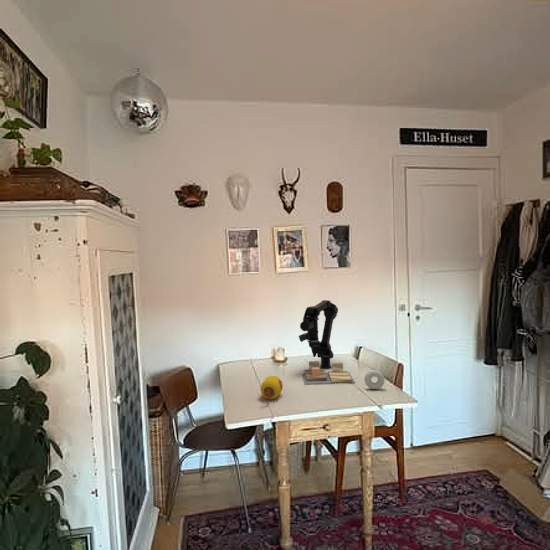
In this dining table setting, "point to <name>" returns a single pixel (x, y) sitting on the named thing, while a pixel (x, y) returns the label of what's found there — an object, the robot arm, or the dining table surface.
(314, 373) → the block
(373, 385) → the donut
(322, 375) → the darker brown strip
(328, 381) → the lane mat
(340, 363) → the tan piece
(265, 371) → the dining table surface
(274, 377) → the yellow piece
